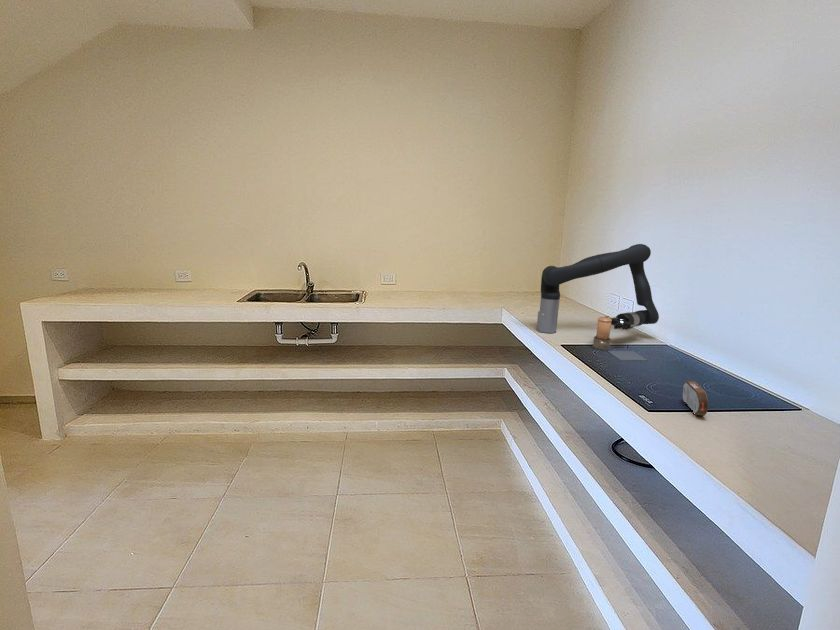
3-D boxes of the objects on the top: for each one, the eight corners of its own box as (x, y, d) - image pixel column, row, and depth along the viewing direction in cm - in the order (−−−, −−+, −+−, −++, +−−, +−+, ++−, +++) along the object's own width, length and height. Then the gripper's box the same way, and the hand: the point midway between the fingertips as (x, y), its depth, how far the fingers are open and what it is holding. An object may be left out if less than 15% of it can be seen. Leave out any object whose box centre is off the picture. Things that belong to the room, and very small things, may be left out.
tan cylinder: (598, 341, 214) (601, 320, 211) (593, 337, 219) (596, 316, 217) (611, 341, 214) (614, 320, 212) (605, 338, 220) (608, 317, 217)
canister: (596, 350, 214) (598, 340, 213) (590, 345, 221) (591, 335, 220) (612, 350, 214) (613, 340, 213) (605, 345, 221) (606, 336, 220)
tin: (706, 420, 147) (711, 395, 145) (695, 419, 148) (700, 394, 146) (688, 400, 162) (693, 377, 160) (678, 399, 162) (682, 376, 160)
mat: (620, 360, 201) (620, 359, 201) (607, 351, 212) (607, 350, 212) (647, 361, 202) (647, 360, 202) (633, 352, 213) (633, 351, 213)
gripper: (615, 309, 230) (594, 313, 221) (642, 316, 218) (621, 320, 209) (612, 324, 232) (592, 328, 223) (640, 331, 220) (619, 336, 211)
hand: (606, 324), depth 216 cm, fingers open, 8 cm apart
